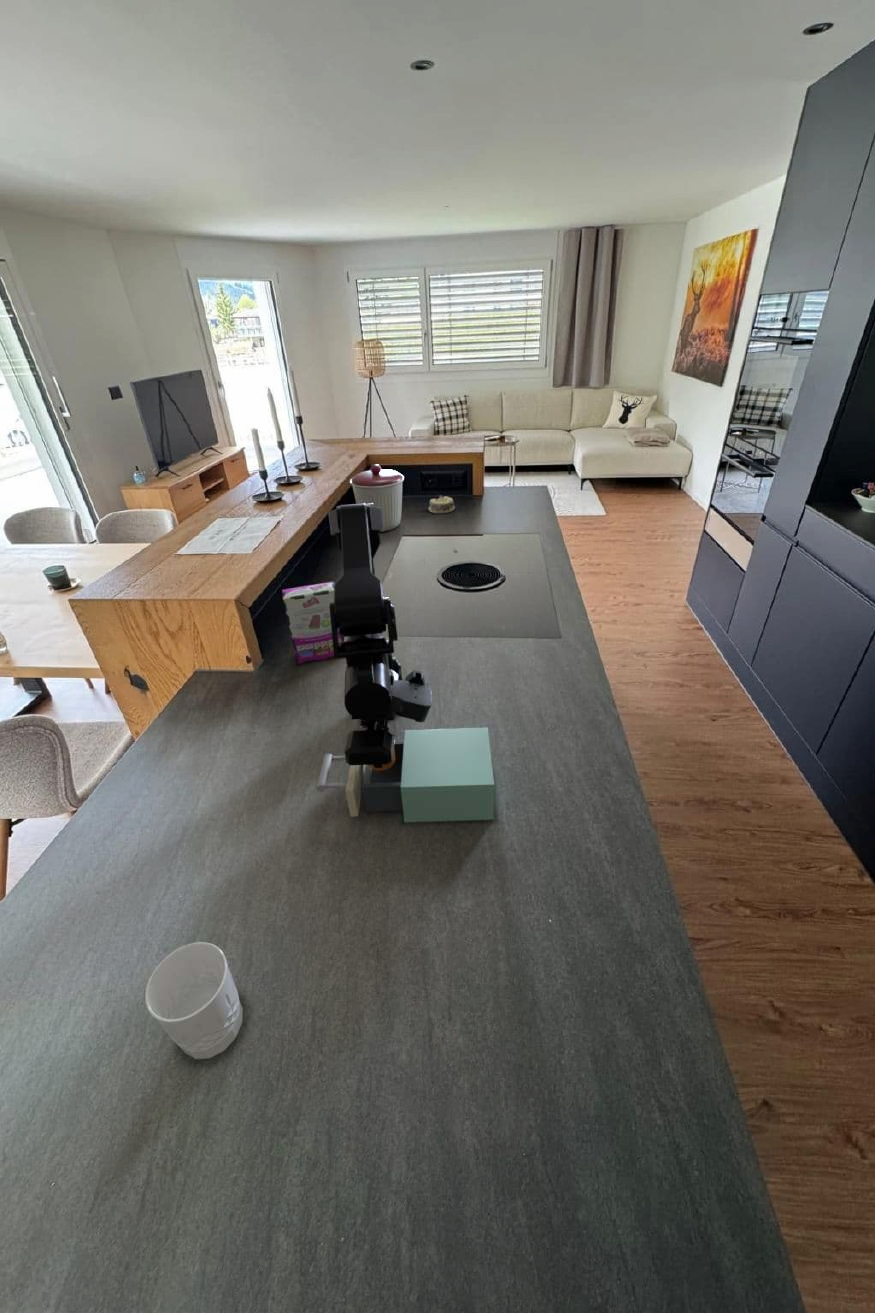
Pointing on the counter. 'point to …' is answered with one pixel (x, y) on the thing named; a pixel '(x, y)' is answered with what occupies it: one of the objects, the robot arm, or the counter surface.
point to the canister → (380, 493)
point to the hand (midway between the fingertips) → (380, 756)
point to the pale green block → (447, 775)
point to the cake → (441, 505)
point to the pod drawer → (368, 784)
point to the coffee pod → (385, 766)
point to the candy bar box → (311, 621)
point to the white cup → (196, 999)
